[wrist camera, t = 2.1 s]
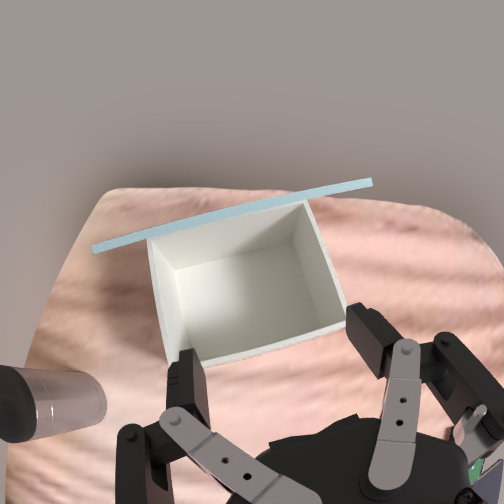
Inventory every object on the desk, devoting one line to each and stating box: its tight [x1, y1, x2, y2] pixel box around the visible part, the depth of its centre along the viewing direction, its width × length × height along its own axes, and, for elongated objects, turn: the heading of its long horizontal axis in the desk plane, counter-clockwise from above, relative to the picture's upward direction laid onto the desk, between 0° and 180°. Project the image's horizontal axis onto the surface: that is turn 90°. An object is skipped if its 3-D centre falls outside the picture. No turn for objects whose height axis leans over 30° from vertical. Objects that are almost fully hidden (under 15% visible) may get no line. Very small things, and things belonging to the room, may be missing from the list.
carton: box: [146, 199, 347, 369], centre depth 36 cm, size 20×16×12 cm
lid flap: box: [91, 178, 373, 254], centre depth 25 cm, size 20×16×1 cm
